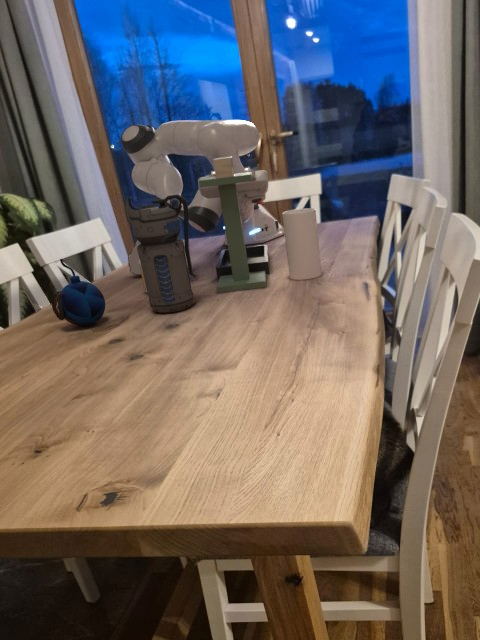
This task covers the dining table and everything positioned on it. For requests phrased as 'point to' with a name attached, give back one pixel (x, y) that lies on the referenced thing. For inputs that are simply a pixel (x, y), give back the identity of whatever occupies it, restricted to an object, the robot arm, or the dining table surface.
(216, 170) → the tan rectangular bar
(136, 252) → the sculpture
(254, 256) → the tray
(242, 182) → the robot arm
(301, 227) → the cup
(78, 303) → the bomb
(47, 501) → the dining table surface
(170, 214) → the grenade canister
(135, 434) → the dining table surface
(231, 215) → the stand
